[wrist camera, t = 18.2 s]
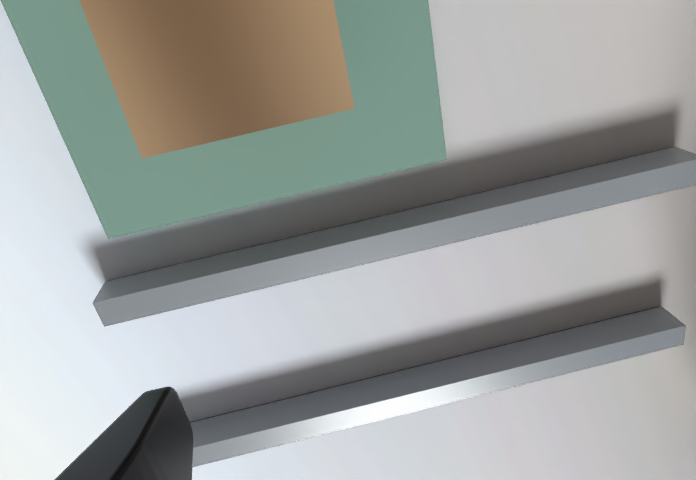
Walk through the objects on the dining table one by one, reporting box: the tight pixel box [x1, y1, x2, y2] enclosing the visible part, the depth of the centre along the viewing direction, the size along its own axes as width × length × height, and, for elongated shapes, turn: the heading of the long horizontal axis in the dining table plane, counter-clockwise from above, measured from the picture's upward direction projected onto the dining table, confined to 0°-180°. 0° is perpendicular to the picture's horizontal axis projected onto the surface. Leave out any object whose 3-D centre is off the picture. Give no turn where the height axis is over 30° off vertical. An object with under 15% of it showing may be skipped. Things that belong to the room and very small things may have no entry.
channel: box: [93, 147, 696, 467], centre depth 20 cm, size 22×8×2 cm, turn 101°
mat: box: [1, 0, 447, 239], centre depth 16 cm, size 12×12×1 cm
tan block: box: [79, 0, 355, 158], centre depth 13 cm, size 5×5×5 cm
